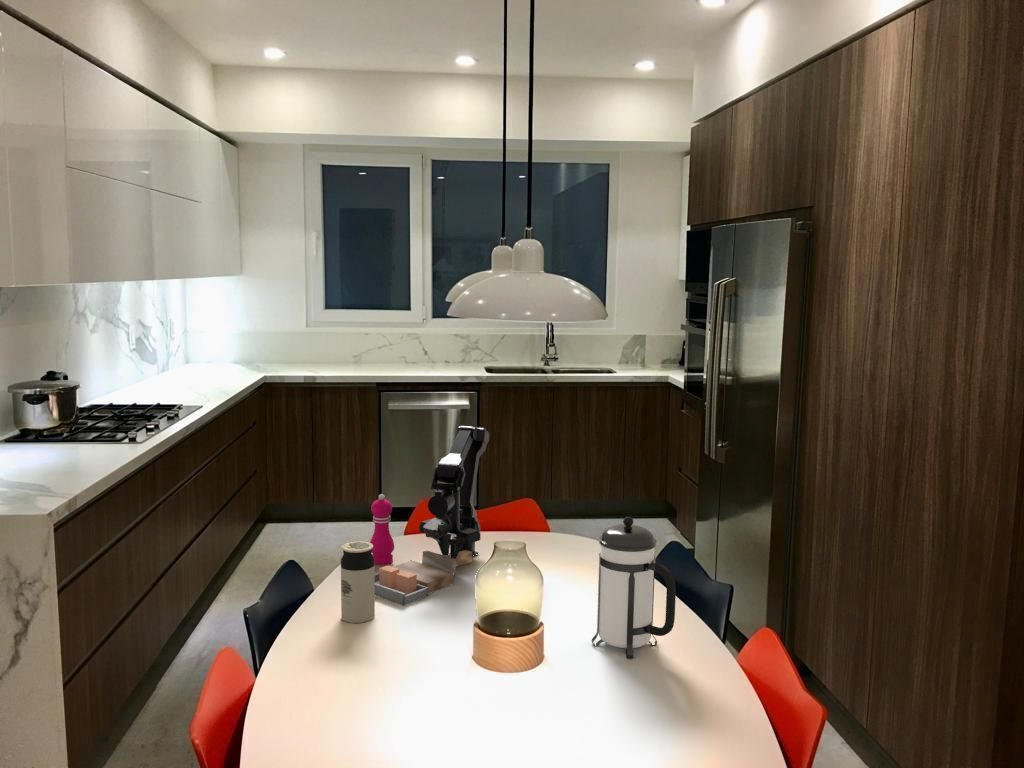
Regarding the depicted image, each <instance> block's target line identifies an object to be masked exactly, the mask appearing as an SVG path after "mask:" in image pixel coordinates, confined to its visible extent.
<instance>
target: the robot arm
mask: <svg viewBox="0 0 1024 768" xmlns="http://www.w3.org/2000/svg"><path fill="white" fill-rule="evenodd" d="M456 433H457V434H456V437H455V438H454V441H453V443H452V445H451V448H450V450H449V452H448V454H447V455H446V456H443V457H442V458H441V459H440V460H439V462H438V463H437V465H436V466H435V469H434V472H433V477H432V478H433V479H432V482H431V490H435V491H434V495H433V496H432V497H430V499H429V500H428V502H427V509H428V511H429V512H430V514H431V515H432V516H434V517H433V518H429V519H426V520H425V519H424V520H423V521H420V524H419V526H418V527H419V528H418V532H419V533H423V534H424V535H425V537H426V538H431V539H433V540H435V541H436V542H437V544H438V546H439V550H440V552H441V555H444V556H445V555H449V554H450V556H451V558H454V559H456V557H457V555H458V553H459V552H460V551H464V550H468V551H472V557H474V556H473V555H475V556H477V555H476V554H478V553H479V552H478V551H475V549H476V542H479V541H481V525H480V523H479V520H478V518H477V516H478V514H477V511H476V508H475V506H474V497H475V489H476V484H477V476H478V469H479V462H480V461H479V460H480V457H482V455H483V454H484V452H485V451H486V450H487V444H488V443H489V441H490V432H489V431H488V430H486V427H477V426H469V425H460V426H458V428H457V432H456ZM478 555H479V554H478Z"/></svg>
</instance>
